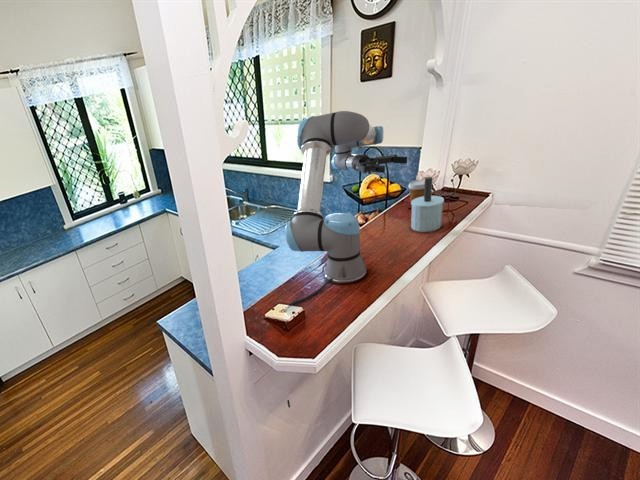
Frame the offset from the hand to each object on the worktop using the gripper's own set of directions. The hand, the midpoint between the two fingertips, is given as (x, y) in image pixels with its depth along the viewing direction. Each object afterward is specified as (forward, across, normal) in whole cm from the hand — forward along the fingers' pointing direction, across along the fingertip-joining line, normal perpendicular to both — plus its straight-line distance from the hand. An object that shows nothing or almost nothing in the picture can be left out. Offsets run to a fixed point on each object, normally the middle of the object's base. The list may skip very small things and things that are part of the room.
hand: (395, 164), depth 149 cm
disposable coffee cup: (-5, -22, -27) cm, 35 cm away
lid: (+14, -2, -15) cm, 21 cm away
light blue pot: (+14, -2, -27) cm, 30 cm away
